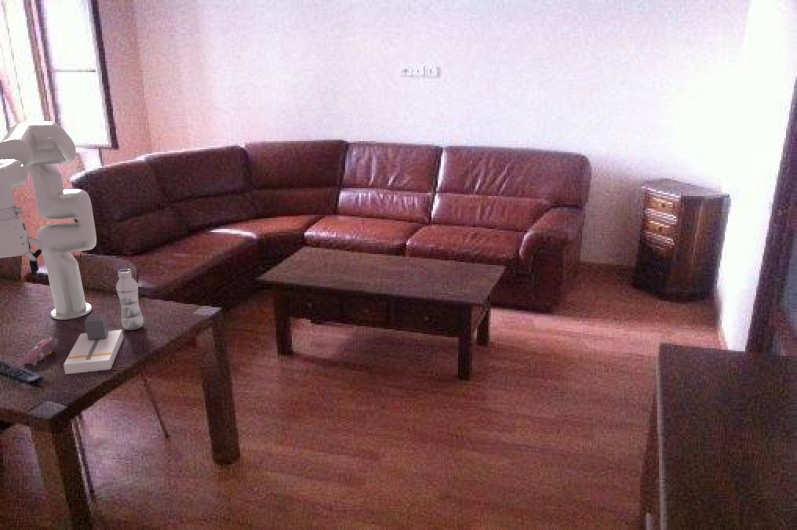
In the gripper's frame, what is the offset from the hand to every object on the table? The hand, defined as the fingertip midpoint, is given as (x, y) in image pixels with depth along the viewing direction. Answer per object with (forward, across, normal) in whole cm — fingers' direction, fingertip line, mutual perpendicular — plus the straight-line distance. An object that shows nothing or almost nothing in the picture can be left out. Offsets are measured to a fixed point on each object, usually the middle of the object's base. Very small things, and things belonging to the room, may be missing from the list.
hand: (14, 276), depth 171 cm
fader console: (+30, -15, -7) cm, 34 cm away
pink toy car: (+30, 0, -11) cm, 32 cm away
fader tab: (+26, -15, -13) cm, 33 cm away
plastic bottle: (+30, -25, -23) cm, 45 cm away
